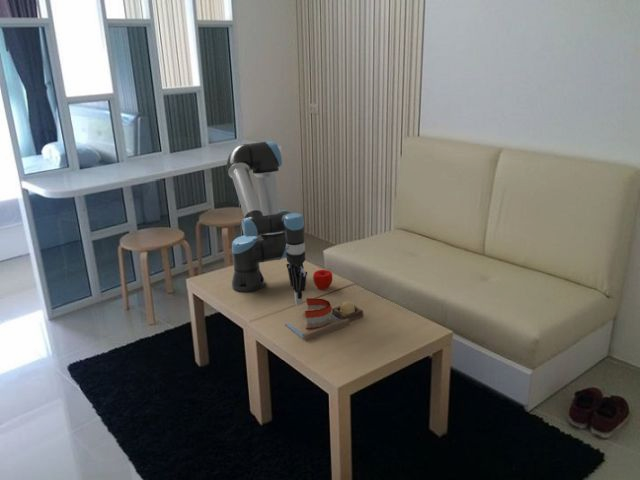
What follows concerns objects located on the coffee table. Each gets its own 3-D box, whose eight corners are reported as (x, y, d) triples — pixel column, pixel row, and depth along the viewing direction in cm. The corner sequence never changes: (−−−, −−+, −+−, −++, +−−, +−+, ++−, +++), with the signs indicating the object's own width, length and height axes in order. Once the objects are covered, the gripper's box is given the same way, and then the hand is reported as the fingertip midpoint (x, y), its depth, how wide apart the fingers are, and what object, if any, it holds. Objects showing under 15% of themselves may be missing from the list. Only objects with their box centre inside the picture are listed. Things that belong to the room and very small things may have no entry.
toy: (332, 330, 223) (331, 311, 220) (305, 330, 224) (304, 312, 221) (332, 315, 235) (331, 297, 232) (307, 315, 235) (306, 298, 233)
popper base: (332, 315, 235) (332, 308, 234) (350, 309, 239) (350, 302, 238) (344, 323, 227) (344, 316, 226) (363, 317, 232) (363, 310, 231)
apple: (336, 288, 258) (336, 272, 256) (320, 293, 254) (319, 277, 251) (326, 282, 266) (325, 266, 263) (310, 287, 261) (309, 271, 259)
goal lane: (285, 325, 228) (284, 319, 228) (327, 310, 239) (327, 305, 238) (305, 340, 216) (304, 335, 215) (349, 325, 226) (349, 319, 225)
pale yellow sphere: (337, 314, 234) (336, 301, 232) (349, 310, 237) (348, 297, 235) (345, 320, 229) (345, 306, 227) (357, 315, 232) (357, 302, 230)
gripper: (279, 249, 232) (283, 301, 241) (295, 259, 222) (299, 313, 231) (295, 245, 236) (298, 296, 245) (312, 254, 226) (314, 307, 234)
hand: (298, 304), depth 238 cm, fingers closed
